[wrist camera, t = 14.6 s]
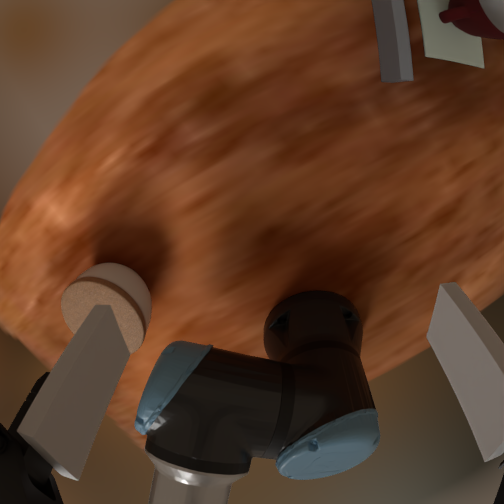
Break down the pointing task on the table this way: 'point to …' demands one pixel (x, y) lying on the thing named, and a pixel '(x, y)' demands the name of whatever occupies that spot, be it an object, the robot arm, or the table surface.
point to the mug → (476, 17)
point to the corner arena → (434, 38)
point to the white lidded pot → (110, 300)
